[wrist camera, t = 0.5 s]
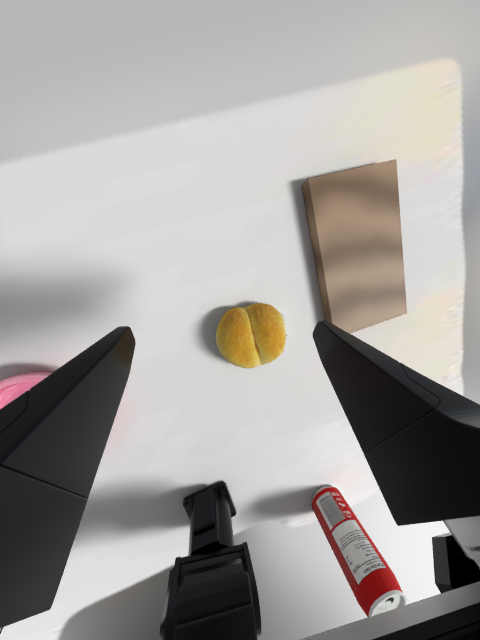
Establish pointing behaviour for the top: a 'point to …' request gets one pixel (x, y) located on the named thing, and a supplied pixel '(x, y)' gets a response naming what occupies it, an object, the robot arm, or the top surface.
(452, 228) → the top surface
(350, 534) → the soda can
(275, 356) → the bread roll
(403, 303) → the walnut chopping board
